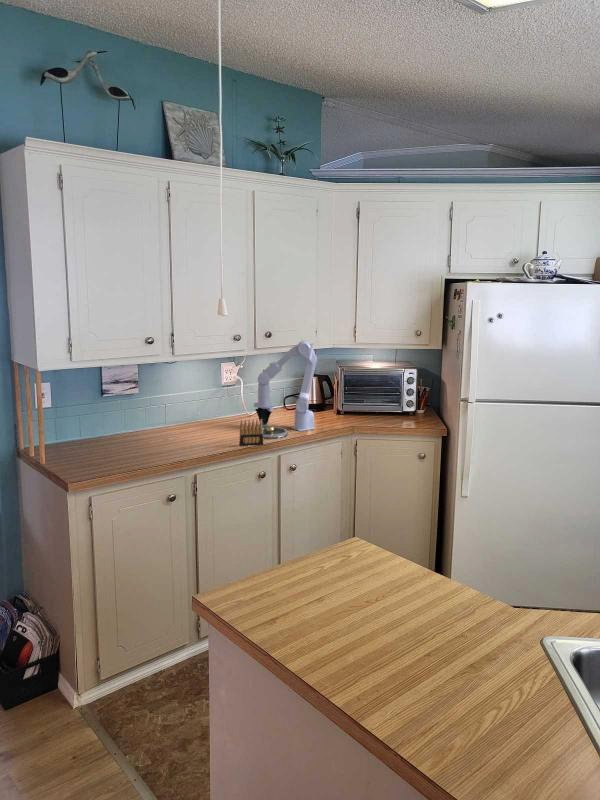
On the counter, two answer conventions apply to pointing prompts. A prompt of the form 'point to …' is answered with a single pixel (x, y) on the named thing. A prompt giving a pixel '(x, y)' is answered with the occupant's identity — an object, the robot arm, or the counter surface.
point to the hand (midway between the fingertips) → (263, 423)
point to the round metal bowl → (274, 432)
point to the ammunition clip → (253, 438)
